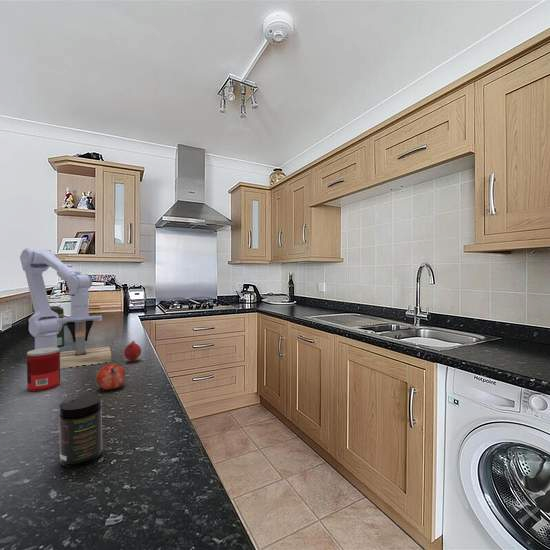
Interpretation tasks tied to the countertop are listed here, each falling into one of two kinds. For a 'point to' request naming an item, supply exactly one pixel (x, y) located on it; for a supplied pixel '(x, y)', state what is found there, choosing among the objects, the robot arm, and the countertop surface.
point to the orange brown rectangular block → (80, 342)
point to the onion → (132, 351)
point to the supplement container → (80, 430)
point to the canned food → (43, 368)
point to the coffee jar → (61, 333)
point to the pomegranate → (110, 376)
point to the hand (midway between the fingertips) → (80, 341)
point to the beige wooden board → (85, 357)
